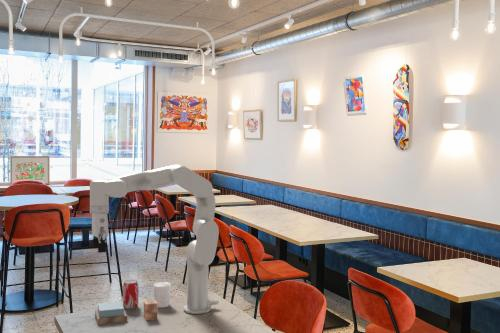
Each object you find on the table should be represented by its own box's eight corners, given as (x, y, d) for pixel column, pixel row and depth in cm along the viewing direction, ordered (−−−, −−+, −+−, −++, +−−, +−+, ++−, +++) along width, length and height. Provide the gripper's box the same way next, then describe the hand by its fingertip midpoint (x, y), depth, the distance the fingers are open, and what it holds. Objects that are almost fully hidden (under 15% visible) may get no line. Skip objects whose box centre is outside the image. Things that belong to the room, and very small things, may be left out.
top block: (121, 308, 230) (121, 301, 229) (124, 315, 220) (124, 308, 220) (97, 310, 226) (97, 303, 226) (99, 317, 217) (99, 310, 217)
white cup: (174, 304, 243) (174, 283, 242) (162, 309, 236) (162, 287, 235) (161, 301, 247) (161, 281, 246) (149, 306, 240) (149, 284, 240)
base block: (123, 313, 231) (123, 307, 231) (127, 322, 220) (127, 315, 220) (95, 316, 227) (95, 310, 227) (97, 326, 216) (97, 319, 215)
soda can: (134, 310, 234) (134, 283, 233) (119, 309, 235) (120, 282, 235) (140, 305, 241) (141, 279, 240) (126, 304, 242) (126, 278, 242)
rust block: (155, 315, 228) (155, 299, 227) (157, 319, 223) (157, 303, 223) (143, 316, 226) (143, 300, 226) (145, 320, 221) (145, 304, 221)
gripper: (113, 211, 212) (113, 253, 213) (103, 206, 227) (103, 245, 228) (94, 212, 208) (94, 255, 209) (85, 207, 223) (85, 246, 224)
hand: (99, 249), depth 219 cm, fingers open, 9 cm apart
